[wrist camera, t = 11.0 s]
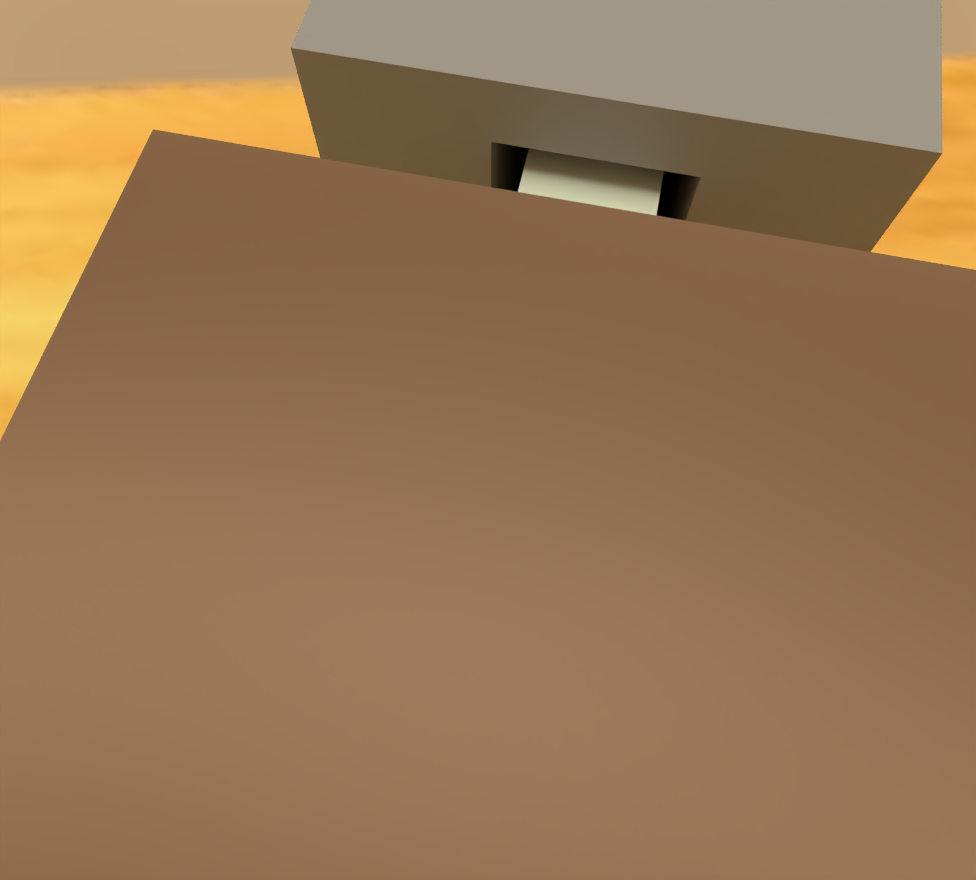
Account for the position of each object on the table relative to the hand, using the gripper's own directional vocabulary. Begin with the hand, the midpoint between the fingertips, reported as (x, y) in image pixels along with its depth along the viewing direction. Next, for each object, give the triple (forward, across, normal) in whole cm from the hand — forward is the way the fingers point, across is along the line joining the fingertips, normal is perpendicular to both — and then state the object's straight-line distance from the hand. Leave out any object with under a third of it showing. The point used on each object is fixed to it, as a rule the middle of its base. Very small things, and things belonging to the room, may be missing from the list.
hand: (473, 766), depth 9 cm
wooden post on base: (+6, 0, +5) cm, 7 cm away
